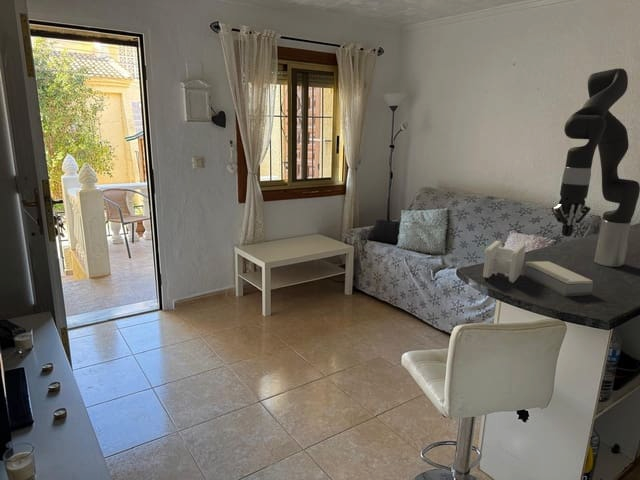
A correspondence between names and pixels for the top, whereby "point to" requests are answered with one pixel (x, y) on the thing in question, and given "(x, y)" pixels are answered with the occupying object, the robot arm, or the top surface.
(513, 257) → the cable organizer
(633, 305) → the top surface
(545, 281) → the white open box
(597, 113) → the robot arm
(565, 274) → the duct cover
